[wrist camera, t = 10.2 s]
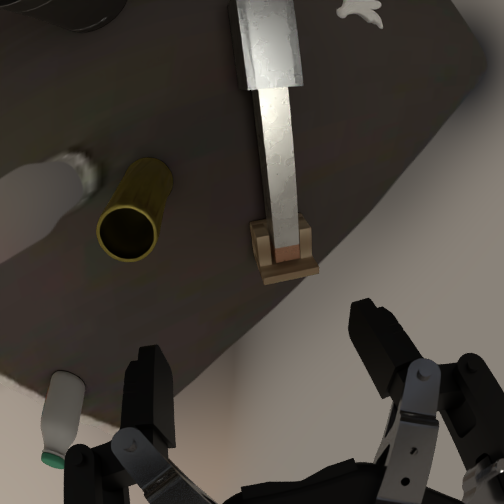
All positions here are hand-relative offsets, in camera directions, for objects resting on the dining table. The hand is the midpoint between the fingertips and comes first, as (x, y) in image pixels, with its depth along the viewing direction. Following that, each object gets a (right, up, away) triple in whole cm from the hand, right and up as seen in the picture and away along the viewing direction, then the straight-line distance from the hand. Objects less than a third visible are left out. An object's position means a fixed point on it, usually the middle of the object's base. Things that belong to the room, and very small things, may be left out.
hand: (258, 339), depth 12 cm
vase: (-13, +12, +23) cm, 29 cm away
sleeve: (0, +27, +17) cm, 32 cm away
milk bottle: (-38, -23, +39) cm, 59 cm away
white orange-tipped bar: (+2, +14, +23) cm, 27 cm away
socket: (+3, +6, +30) cm, 31 cm away
